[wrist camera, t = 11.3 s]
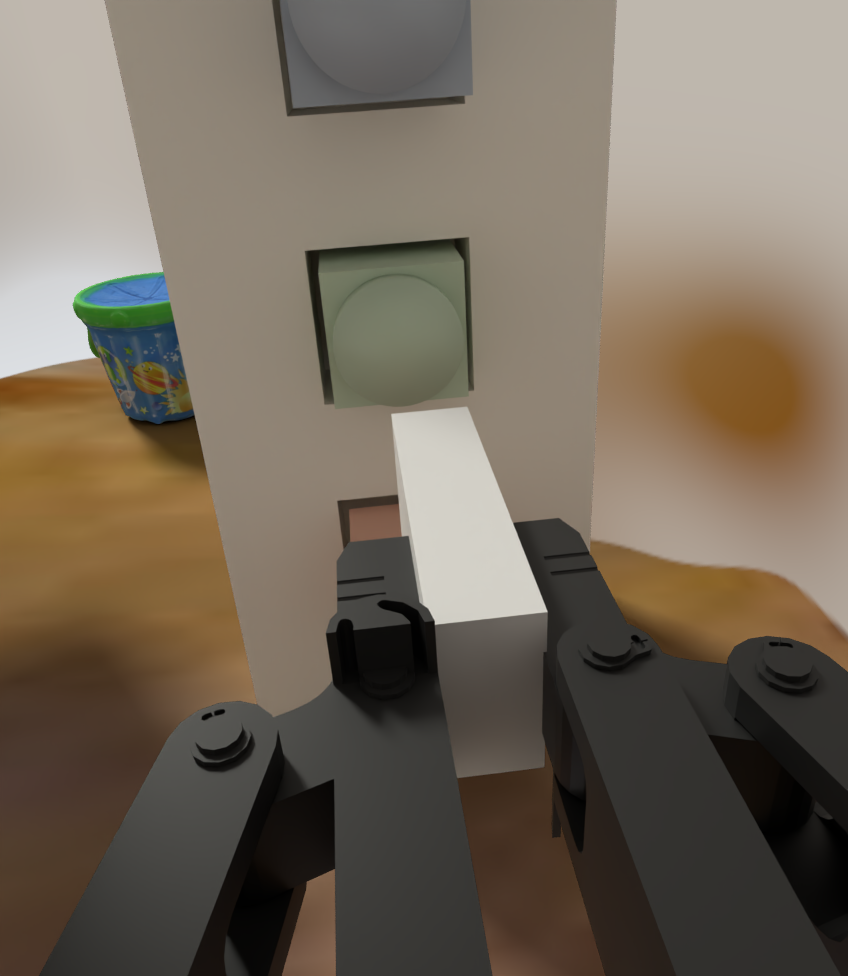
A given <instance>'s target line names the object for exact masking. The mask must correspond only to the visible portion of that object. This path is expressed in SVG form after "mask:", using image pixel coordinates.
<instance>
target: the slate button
mask: <svg viewBox="0 0 848 976" xmlns="http://www.w3.org/2000/svg"><path fill="white" fill-rule="evenodd" d="M280 8H281V16H282V24H283V32H284V40H285V48H286V55H287V63H288V71H289V79H290V87H291V95H292V103H293V108H302V107H316V106H330V105H343V104H357V103H371V102H385V101H399V100H413V99H426V98H440V97H454V96H468V95H473V78H472V41H471V4H470V0H280Z"/></svg>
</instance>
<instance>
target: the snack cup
mask: <svg viewBox="0 0 848 976" xmlns="http://www.w3.org/2000/svg"><path fill="white" fill-rule="evenodd" d="M73 308H74V311H75V313H76V315H77V317H78V318H80V319H81V320H82V322H83V323H84V324H85V325H86V326H87V329H88V341H89V345H90V349H91V351H92V352H93V354H94V355H95V356H96V357H98V358H101V361H102V363H103V365H104V367H105V370H106V372H107V375H108V377H109V380H110V382H111V384H112V387H113V389H114V391H115V393H116V395H117V398H118V401H119V402H120V404H121V407H122V409H123V410H124V412H125V414H126V415H127V416H130V417H131V418H133V419H136V420H141V421H143V420H148V421H150V422H153V423H156V424H160V423H162V422H164V421H175V420H182V419H185V418H189V417H192V416H194V410H193V405H192V401H191V396H190V392H189V387H188V382H187V378H186V373H185V369H184V364H183V359H182V355H181V350H180V345H179V341H178V336H177V332H176V327H175V322H174V318H173V313H172V309H171V304H170V299H169V295H168V290H167V286H166V281H165V276H164V272H159V273H149V274H140V275H132V276H127V277H122V278H117V279H113V280H109V281H105V282H102V283H99V284H96V285H93V286H90V287H88V288H86V289H84V290H82V291H80V292H79V293H78V294H77V295H76V297H75V300H74V303H73Z"/></svg>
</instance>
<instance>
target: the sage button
mask: <svg viewBox="0 0 848 976" xmlns="http://www.w3.org/2000/svg"><path fill="white" fill-rule="evenodd" d="M318 275H319V283H320V292H321V300H322V308H323V316H324V324H325V332H326V340H327V348H328V356H329V364H330V372H331V381H332V389H333V397H334V405H335V409H342V408H353V407H363V406H373V405H385V406H392V407H403V406H410V405H414V404H418V403H421V402H423V401H426V400H436V399H446V398H457V397H467V396H469V391H468V362H467V334H466V306H465V277H464V260H463V259H462V257H461V256H460V254H459V253H458V251H457V250H456V248H455V247H454V245H453V244H452V242H451V241H450V239H440V240H428V241H416V242H404V243H392V244H380V245H368V246H356V247H344V248H332V249H320V252H319V269H318Z"/></svg>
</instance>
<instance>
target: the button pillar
mask: <svg viewBox="0 0 848 976" xmlns="http://www.w3.org/2000/svg"><path fill="white" fill-rule="evenodd" d="M616 2H617V1H616V0H470V4H471V41H472V78H473V95H468V96H454V97H440V98H426V99H413V100H399V101H385V102H371V103H357V104H343V105H330V106H316V107H302V108H293V103H292V95H291V87H290V79H289V71H288V63H287V55H286V48H285V40H284V32H283V24H282V16H281V8H280V0H105V4H106V9H107V14H108V18H109V23H110V28H111V32H112V37H113V41H114V46H115V50H116V55H117V60H118V64H119V69H120V74H121V78H122V82H123V87H124V92H125V97H126V101H127V105H128V111H129V115H130V120H131V124H132V129H133V133H134V138H135V143H136V147H137V152H138V157H139V161H140V166H141V170H142V175H143V180H144V184H145V189H146V193H147V198H148V203H149V207H150V212H151V217H152V221H153V226H154V230H155V234H156V240H157V244H158V249H159V253H160V258H161V262H162V267H163V272H164V276H165V281H166V286H167V290H168V295H169V299H170V304H171V309H172V313H173V318H174V322H175V327H176V332H177V336H178V341H179V345H180V350H181V355H182V359H183V364H184V369H185V373H186V378H187V382H188V387H189V392H190V396H191V401H192V405H193V410H194V415H195V419H196V424H197V428H198V433H199V438H200V442H201V447H202V451H203V456H204V461H205V465H206V470H207V474H208V479H209V484H210V488H211V493H212V498H213V502H214V507H215V511H216V516H217V521H218V525H219V530H220V534H221V539H222V544H223V548H224V553H225V557H226V562H227V567H228V571H229V576H230V580H231V585H232V590H233V594H234V599H235V603H236V608H237V613H238V617H239V622H240V626H241V631H242V636H243V640H244V645H245V650H246V654H247V659H248V663H249V668H250V673H251V677H252V682H253V686H254V691H255V696H256V700H257V705H259V706H260V707H262V708H263V709H265V710H266V711H267V712H269V713H270V714H272V716H273V717H275V716H278V715H281V714H283V713H286V712H289V711H291V710H294V709H296V708H298V707H300V706H302V705H304V704H307V703H309V702H310V701H312V700H313V699H314V698H316V697H317V696H318V695H320V694H321V693H322V692H323V691H324V690H325V689H326V688H327V687H328V685H329V684H330V683H331V681H332V672H331V666H330V659H329V652H328V646H327V639H326V630H327V627H328V624H329V621H330V619H331V618H332V617H333V616H334V615H335V614H336V613H337V560H338V558H339V556H340V555H341V553H342V552H343V550H344V549H345V547H346V546H347V544H348V543H349V542H350V520H349V509H355V508H364V507H374V506H384V505H393V504H399V499H398V487H397V475H396V464H395V452H394V440H393V429H392V417H391V414H396V413H407V412H417V411H427V410H438V409H448V408H459V407H468V410H469V412H470V415H471V417H472V420H473V423H474V425H475V428H476V430H477V433H478V435H479V438H480V440H481V443H482V446H483V448H484V451H485V453H486V456H487V458H488V461H489V463H490V466H491V469H492V471H493V474H494V476H495V479H496V481H497V484H498V486H499V489H500V492H501V494H502V497H503V499H504V502H505V504H506V507H507V509H508V512H509V515H510V517H511V520H512V522H513V523H515V522H524V521H534V520H543V519H553V518H560V519H561V520H562V521H564V522H565V523H567V524H568V525H569V526H571V527H572V528H574V529H575V530H576V531H578V532H579V533H580V535H581V537H582V539H583V540H584V542H585V544H586V546H587V548H588V550H589V554H590V536H591V515H592V514H591V513H592V495H593V474H594V454H595V453H594V452H595V433H596V411H597V392H598V371H599V350H600V330H601V308H602V290H603V269H604V268H603V267H604V248H605V227H606V207H607V186H608V165H609V146H610V126H611V105H612V85H613V64H614V44H615V22H616ZM440 239H450V241H451V242H452V244H453V245H454V247H455V248H456V250H457V251H458V253H459V254H460V256H461V257H462V259H463V260H464V277H465V306H466V334H467V362H468V391H469V396H467V397H457V398H446V399H436V400H426V401H423V402H421V403H418V404H414V405H410V406H403V407H392V406H385V405H373V406H363V407H353V408H342V409H335V405H334V397H333V389H332V381H331V372H330V364H329V356H328V348H327V340H326V332H325V324H324V316H323V308H322V300H321V292H320V283H319V275H318V269H319V252H320V249H332V248H344V247H356V246H368V245H380V244H392V243H404V242H416V241H428V240H440Z"/></svg>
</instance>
